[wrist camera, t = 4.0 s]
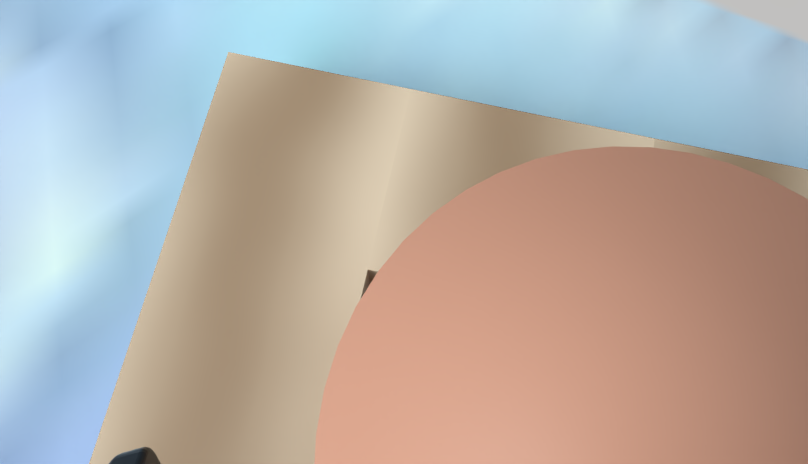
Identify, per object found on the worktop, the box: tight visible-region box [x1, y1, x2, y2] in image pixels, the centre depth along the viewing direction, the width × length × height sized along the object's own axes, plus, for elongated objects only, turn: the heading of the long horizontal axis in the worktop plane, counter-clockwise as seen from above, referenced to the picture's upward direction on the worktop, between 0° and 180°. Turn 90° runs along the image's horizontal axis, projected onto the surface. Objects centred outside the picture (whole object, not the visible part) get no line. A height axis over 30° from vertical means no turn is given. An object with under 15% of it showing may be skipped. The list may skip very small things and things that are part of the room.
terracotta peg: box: [314, 146, 808, 464], centre depth 9 cm, size 4×4×12 cm
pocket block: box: [89, 52, 808, 464], centre depth 14 cm, size 14×14×3 cm
